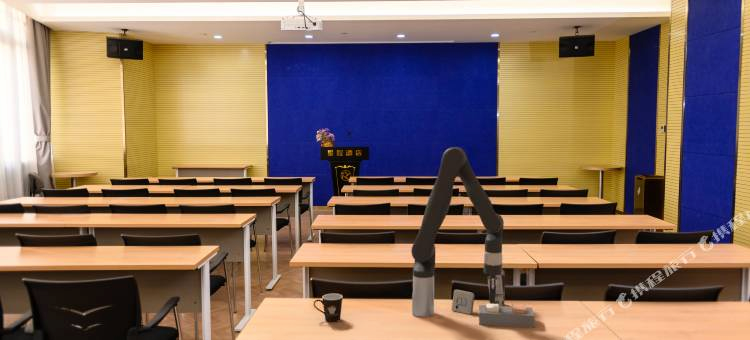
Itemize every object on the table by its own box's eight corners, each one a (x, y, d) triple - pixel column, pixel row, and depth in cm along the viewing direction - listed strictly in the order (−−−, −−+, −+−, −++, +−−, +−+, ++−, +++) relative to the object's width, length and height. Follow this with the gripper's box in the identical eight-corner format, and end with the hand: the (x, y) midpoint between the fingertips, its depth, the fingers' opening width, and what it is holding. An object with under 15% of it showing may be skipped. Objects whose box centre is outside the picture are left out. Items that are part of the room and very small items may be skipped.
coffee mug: (346, 317, 243) (346, 295, 242) (336, 324, 235) (336, 301, 234) (322, 313, 248) (322, 291, 247) (312, 320, 240) (312, 297, 239)
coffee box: (504, 310, 250) (505, 275, 248) (489, 309, 251) (490, 274, 250) (504, 303, 259) (504, 269, 257) (489, 303, 260) (490, 268, 259)
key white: (486, 319, 235) (486, 307, 235) (486, 314, 240) (486, 303, 240) (498, 319, 234) (498, 308, 234) (498, 315, 239) (498, 304, 239)
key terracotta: (513, 320, 233) (513, 308, 233) (512, 316, 238) (512, 304, 238) (525, 321, 232) (526, 309, 232) (524, 317, 237) (525, 305, 237)
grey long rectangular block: (479, 324, 234) (479, 312, 233) (479, 316, 243) (479, 304, 243) (533, 327, 230) (534, 315, 229) (531, 319, 239) (531, 307, 239)
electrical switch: (451, 310, 250) (452, 290, 250) (456, 308, 255) (457, 288, 254) (470, 315, 245) (471, 294, 245) (475, 313, 249) (476, 292, 249)
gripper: (483, 257, 242) (482, 296, 244) (484, 265, 229) (483, 307, 231) (501, 258, 241) (500, 297, 243) (502, 266, 228) (501, 308, 230)
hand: (492, 302), depth 237 cm, fingers closed
